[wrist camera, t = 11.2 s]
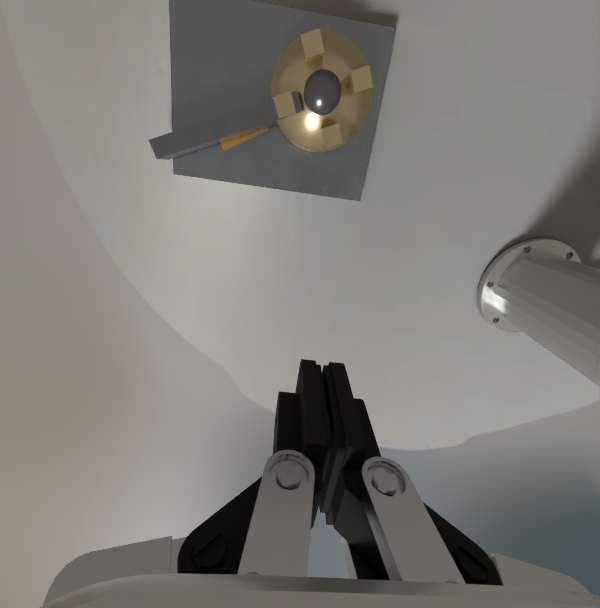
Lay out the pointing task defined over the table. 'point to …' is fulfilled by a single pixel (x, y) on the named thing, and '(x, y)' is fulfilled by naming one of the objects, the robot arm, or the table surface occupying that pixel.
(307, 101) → the gold disc with handle
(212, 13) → the base plate
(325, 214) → the table surface
